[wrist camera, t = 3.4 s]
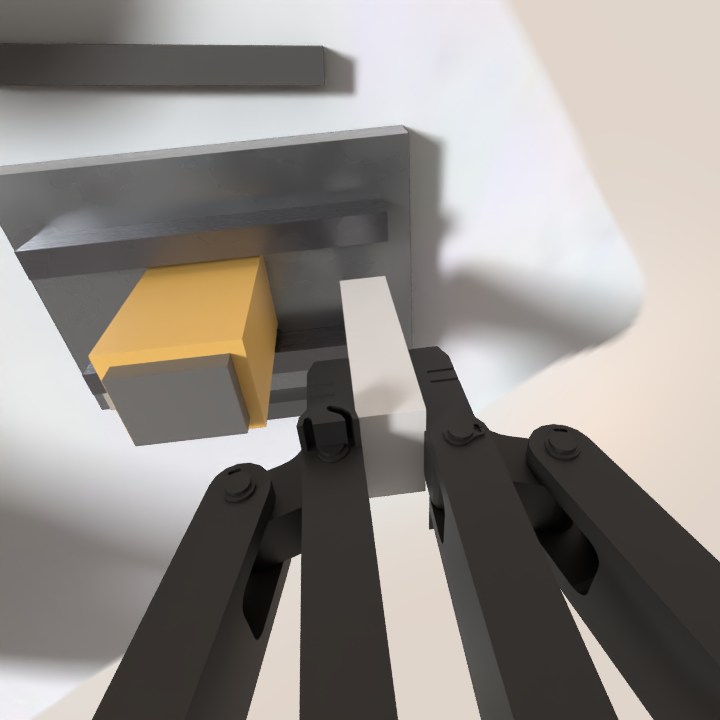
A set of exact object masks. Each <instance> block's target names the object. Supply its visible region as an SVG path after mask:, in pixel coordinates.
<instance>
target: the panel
mask: <svg viewBox="0 0 720 720" xmlns="http://www.w3.org/2000/svg"><path fill="white" fill-rule="evenodd" d="M0 225H1V227H2V229H3V231H4V233H5V234H6V236H7V238H8V240H9V242H10V243H11V245H12V247H13V249H14V251H15V252H14V253H15V254H16V256H17V258H18V260H19V262H20V263H21V265H22V267H23V269H24V271H25V273H26V274H27V276H28V278H29V280H31V282H32V283H33V285H34V287H35V289H36V291H37V292H38V294H39V296H40V298H41V300H42V302H43V303H44V305H45V307H46V309H47V311H48V312H49V314H50V316H51V318H52V320H53V322H54V323H55V325H56V327H57V329H58V331H59V332H60V334H61V336H62V338H63V340H64V342H65V343H66V345H67V347H68V349H69V351H70V352H71V354H72V356H73V358H74V360H75V361H76V363H77V365H78V367H79V369H80V371H81V372H82V376H83V378H84V379H85V381H86V383H87V385H88V387H89V388H90V390H91V392H92V394H93V395H94V396H95V398H96V400H97V401H98V403H99V405H100V407H101V409H102V410H105V409H111V410H114V409H116V408H115V407H114V405H113V403H112V401H111V399H110V397H109V395H108V393H107V391H106V389H105V388H104V386H103V384H102V382H101V380H100V378H99V376H98V374H97V372H96V370H95V369H94V367H93V365H92V363H91V361H90V359H89V357H88V356H89V354H90V353H91V351H92V350H93V348H94V347H95V345H96V344H97V342H98V341H99V339H100V338H101V337H102V335H103V334H104V332H105V331H106V329H107V328H108V326H109V325H110V323H111V322H112V320H113V319H114V317H115V316H116V314H117V313H118V311H119V310H120V309H121V307H122V306H123V304H124V303H125V301H126V300H127V298H128V297H129V295H130V294H131V292H132V291H133V289H134V288H135V286H136V285H137V284H138V282H139V281H140V279H141V278H142V276H143V275H144V273H145V272H146V270H147V269H148V267H157V266H166V265H176V264H185V263H194V262H203V261H212V260H222V259H231V258H240V257H249V256H259V255H263V257H264V262H265V267H266V271H267V276H268V281H269V285H270V290H271V295H272V299H273V304H274V309H275V313H276V318H277V322H278V327H277V335H276V344H275V353H274V362H273V371H272V380H271V389H270V390H278V389H287V388H296V387H304V386H307V373H308V371H309V369H310V368H311V366H312V364H313V363H314V362H316V361H325V360H333V359H342V358H349V357H348V349H347V340H346V331H345V323H344V314H343V305H342V296H341V288H340V281H343V280H352V279H361V278H370V277H379V276H385V277H386V281H387V284H388V287H389V290H390V294H391V297H392V300H393V303H394V307H395V310H396V313H397V316H398V320H399V323H400V326H401V329H402V333H403V336H404V339H405V342H406V346H407V349H408V350H409V349H412V315H411V246H410V177H409V133H408V131H407V130H406V129H405V128H404V127H403V126H402V125H398V126H388V127H378V128H368V129H359V130H349V131H339V132H329V133H320V134H310V135H300V136H290V137H281V138H271V139H261V140H252V141H242V142H232V143H222V144H213V145H203V146H193V147H183V148H174V149H164V150H154V151H144V152H135V153H125V154H115V155H105V156H96V157H86V158H76V159H67V160H57V161H47V162H37V163H28V164H18V165H8V166H0Z"/></svg>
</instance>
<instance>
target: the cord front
mask: <svg viewBox="0 0 720 720" xmlns="http://www.w3.org/2000/svg"><path fill="white" fill-rule="evenodd" d="M0 85H324V53H323V46H282V45H151V44H19V43H0Z"/></svg>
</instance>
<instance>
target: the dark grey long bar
mask: <svg viewBox="0 0 720 720" xmlns="http://www.w3.org/2000/svg"><path fill="white" fill-rule="evenodd" d="M306 410H307V386H305V387H296V388H288V389H279V390H270V397H269V406H268V415H267V420H271V419H279V418H288V417H296V416H301V415H302V414H303V413H304V412H305V411H306Z"/></svg>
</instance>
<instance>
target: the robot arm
mask: <svg viewBox="0 0 720 720" xmlns="http://www.w3.org/2000/svg"><path fill="white" fill-rule="evenodd" d="M340 288H341V296H342V305H343V314H344V323H345V331H346V340H347V349H348V357H349V358H342V359H333V360H325V361H316V362H314V363H313V364H312V366H311V368H310V369H309V371H308V373H307V410H306V411H305V412H304V413H303V414H302V415H301V416H300V417H299V420H298V423H297V431H298V435H299V440H300V444H301V449H302V450H301V451H300V452H299V454H298V455H297V456H296V457H294V458H293V459H292V460H290V461H289V462H287V463H285V464H283V465H280V466H278V467H275V468H273V469H270V470H268V471H267V470H265V469H264V468H263V467H262V466H260V465H256V464H252V463H243V464H237V465H234V466H232V467H229V468H226V469H225V470H224V471H222V472H221V473H220V474H218V475H217V476H216V477H215V478H214V480H213V481H212V482H211V484H210V485H209V487H208V489H207V491H206V493H205V495H204V497H203V499H202V501H201V503H200V505H199V507H198V509H197V511H196V513H195V515H194V517H193V519H192V521H191V523H190V525H189V527H188V529H187V531H186V533H185V535H184V537H183V539H182V541H181V543H180V545H179V547H178V549H177V551H176V553H175V555H174V557H173V559H172V561H171V563H170V565H169V567H168V569H167V571H166V573H165V575H164V577H163V579H162V581H161V583H160V585H159V587H158V589H157V591H156V593H155V595H154V597H153V599H152V601H151V603H150V605H149V607H148V609H147V611H146V613H145V615H144V617H143V619H142V621H141V623H140V625H139V627H138V629H137V631H136V633H135V635H134V637H133V639H132V641H131V643H130V645H129V647H128V649H127V651H126V653H125V655H124V657H123V659H122V661H121V663H120V665H119V667H118V669H117V671H116V673H115V675H114V677H113V679H112V681H111V683H110V685H109V687H108V689H107V691H106V693H105V695H104V697H103V699H102V701H101V703H100V705H99V707H98V709H97V711H96V713H95V715H94V717H93V719H92V720H246V718H247V715H248V711H249V707H250V704H251V701H252V697H253V694H254V690H255V686H256V683H257V679H258V676H259V672H260V669H261V665H262V661H263V658H264V655H265V651H266V647H267V644H268V640H269V637H270V633H271V630H272V626H273V623H274V619H275V615H276V612H277V608H278V605H279V601H280V598H281V594H282V590H283V587H284V583H285V580H286V577H287V573H288V569H289V566H290V562H291V558H292V557H295V556H297V555H299V554H301V633H300V634H301V635H300V637H301V638H300V639H301V640H300V720H398V716H397V708H396V701H395V693H394V686H393V678H392V670H391V663H390V656H389V648H388V640H387V633H386V625H385V618H384V610H383V602H382V594H381V587H380V580H379V571H378V564H377V557H376V549H375V542H374V533H373V526H372V518H371V511H370V503H369V498H373V497H381V496H389V495H397V494H404V493H413V492H420V491H425V480H426V484H427V488H428V491H429V495H430V497H429V529H434V530H435V535H436V538H437V542H438V546H439V550H440V555H441V558H442V563H443V567H444V571H445V575H446V579H447V583H448V587H449V591H450V595H451V599H452V603H453V607H454V611H455V615H456V620H457V624H458V627H459V632H460V636H461V640H462V644H463V648H464V652H465V656H466V660H467V664H468V668H469V672H470V676H471V680H472V684H473V689H474V692H475V697H476V700H477V705H478V709H479V713H480V717H481V720H618V718H617V715H616V713H615V711H614V709H613V706H612V704H611V702H610V700H609V697H608V695H607V693H606V691H605V688H604V686H603V684H602V682H601V679H600V677H599V675H598V673H597V671H596V668H595V666H594V664H593V661H592V659H591V657H590V655H589V652H588V650H587V648H586V646H585V643H584V641H583V639H582V637H581V634H580V632H579V630H578V628H577V625H576V623H575V621H574V619H573V616H572V614H571V612H570V610H569V608H568V606H567V603H566V601H565V599H564V596H563V594H562V592H563V593H564V595H565V596H566V597H567V599H568V600H569V602H570V603H571V604H572V606H573V607H574V609H575V610H576V611H577V613H578V614H579V616H580V617H581V618H582V620H583V621H584V623H585V624H586V625H587V627H588V628H589V630H590V631H591V632H592V634H593V635H594V637H595V638H596V639H597V641H598V642H599V644H600V645H601V646H602V648H603V649H604V651H605V652H606V653H607V655H608V656H609V658H610V659H611V661H612V662H613V663H614V665H615V666H616V668H617V669H618V670H619V672H620V673H621V675H622V676H623V677H624V679H625V680H626V681H627V683H628V684H629V686H630V687H631V689H632V690H633V691H634V693H635V694H636V696H637V697H638V698H639V700H640V701H641V702H642V704H643V705H644V707H645V708H646V710H647V711H648V712H649V714H650V715H651V717H652V718H653V719H654V720H720V562H719V561H718V560H717V559H716V558H715V557H714V556H713V555H712V554H711V553H710V552H708V551H707V550H706V549H705V548H704V547H703V546H702V545H701V544H700V543H699V542H698V541H697V540H696V539H694V537H693V536H692V535H690V534H689V533H688V532H687V531H686V530H685V529H684V528H683V527H682V526H681V525H680V524H679V523H678V522H677V521H676V520H675V519H674V518H673V517H672V516H670V515H669V514H668V513H667V512H666V511H665V510H664V509H663V508H662V507H661V506H660V505H659V504H658V503H657V502H656V501H655V500H654V499H653V498H651V497H650V496H649V495H648V494H647V493H646V492H645V491H644V490H643V489H642V488H641V487H640V486H639V485H638V484H637V483H636V482H634V481H633V480H632V479H631V478H630V477H629V476H628V475H627V474H626V473H625V472H624V471H623V470H622V469H621V468H620V467H619V466H618V465H617V464H616V463H614V461H612V460H611V459H610V458H609V457H608V456H607V455H606V454H605V453H604V452H603V451H602V450H601V449H600V448H599V447H598V446H597V445H596V444H595V443H593V442H592V441H591V440H590V439H589V438H588V437H587V436H585V435H584V434H583V433H581V432H579V431H578V430H576V429H573V428H571V427H568V426H563V425H556V424H552V425H545V426H541V427H539V428H538V429H536V430H534V431H533V433H532V434H531V436H530V437H529V439H527V438H520V437H512V436H506V435H500V434H498V433H495V432H492V431H490V430H489V429H488V428H487V426H486V425H485V424H484V423H483V422H482V421H480V420H479V419H477V418H476V417H475V416H474V414H473V412H472V409H471V407H470V405H469V402H468V400H467V398H466V395H465V393H464V391H463V388H462V386H461V384H460V381H459V380H458V377H457V374H456V372H455V370H454V367H453V365H452V363H451V360H450V358H449V356H448V355H447V354H446V353H445V352H443V351H442V350H441V349H440V348H439V347H437V346H435V347H426V348H418V349H409V350H408V349H407V346H406V342H405V339H404V336H403V333H402V329H401V326H400V323H399V320H398V316H397V313H396V310H395V307H394V303H393V300H392V297H391V294H390V290H389V287H388V284H387V281H386V277H385V276H379V277H370V278H361V279H352V280H343V281H340ZM560 589H561V590H562V592H561V590H560Z"/></svg>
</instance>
